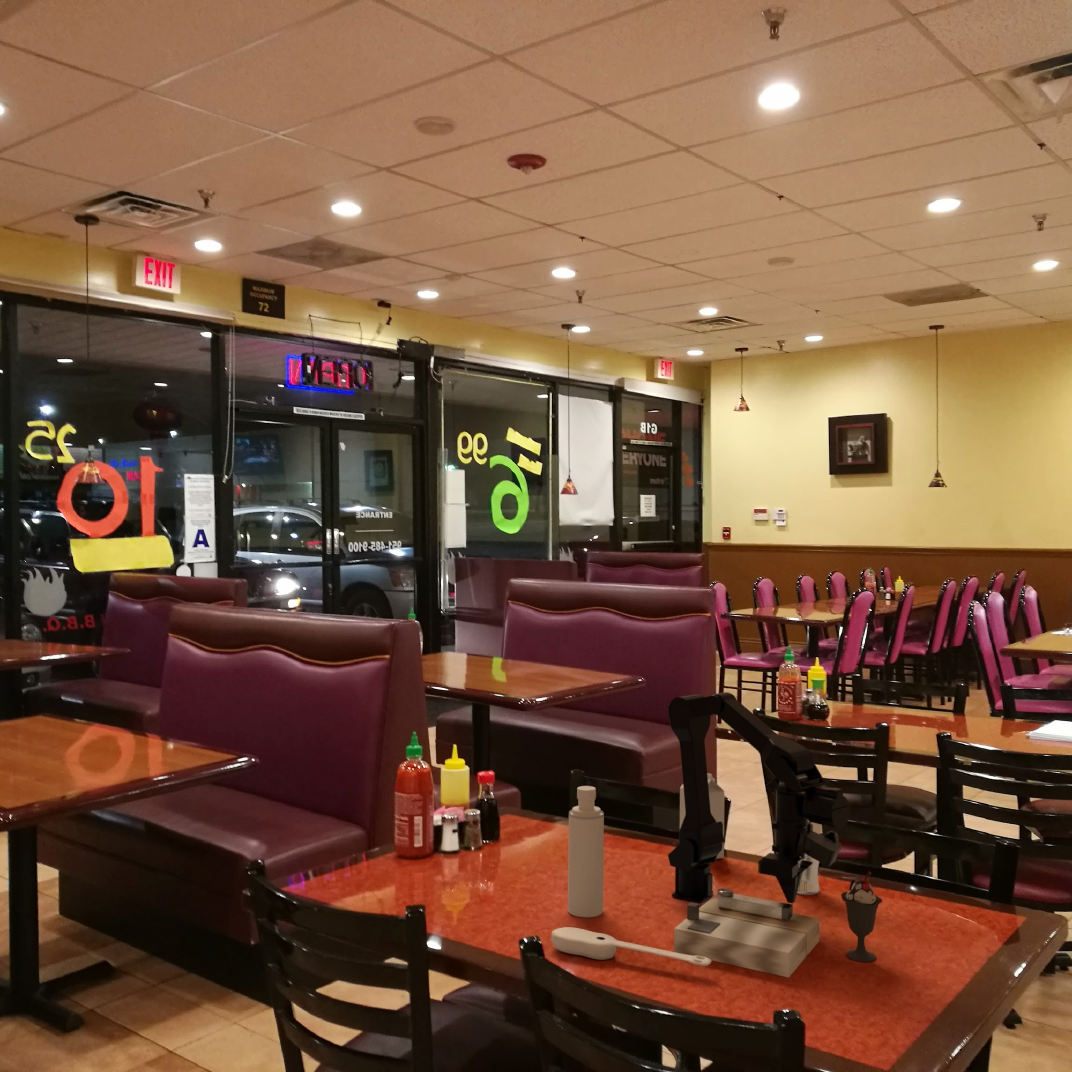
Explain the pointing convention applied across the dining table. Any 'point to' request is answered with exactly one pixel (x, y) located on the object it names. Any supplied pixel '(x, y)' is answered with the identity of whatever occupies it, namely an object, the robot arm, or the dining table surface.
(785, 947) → the wooden case with bar
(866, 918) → the sundae
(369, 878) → the dining table surface
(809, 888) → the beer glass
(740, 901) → the latch bar
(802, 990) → the dining table surface
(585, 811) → the spray bottle
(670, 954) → the handheld milk frother
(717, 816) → the milk carton
